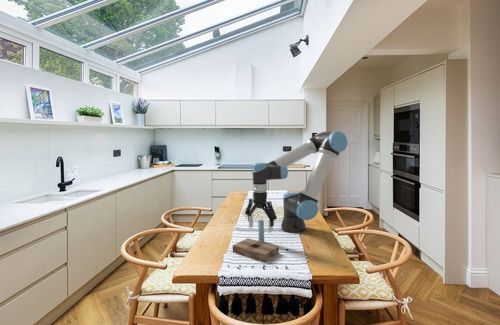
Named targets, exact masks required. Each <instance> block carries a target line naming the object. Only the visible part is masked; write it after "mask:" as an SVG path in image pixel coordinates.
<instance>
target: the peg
mask: <svg viewBox="0 0 500 325" xmlns="http://www.w3.org/2000/svg"><path fill="white" fill-rule="evenodd" d="M257 223H258V225H257V226H258V241H260V242H264V243H265V223H264V219H260V220H258V221H257Z"/></svg>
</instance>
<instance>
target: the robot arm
mask: <svg viewBox="0 0 500 325" xmlns="http://www.w3.org/2000/svg"><path fill="white" fill-rule="evenodd" d="M347 147H348V139H347V136H346V135H345V133H344V132H342V131H338V130H333V131H322V132H319V133H318V134H316V135H313V136H311V138H309V139H307V140H306V141H305V143H303V144H301V145H299V146H297V147H296V148H294V149H292V150H289V151H288V152H286V153H285V154H282V155H281V156H279V157H277V158H274V160H271V161H269V162H267V163H266V162H254V163H253V164H252V172H251V173H252V191H253V192H252V198H249V199H248V204H247V207H246V209H245V212H244V214H245V215H246V216H247V222H248V228H249V229H251V228H253V227H254V215H253V213H255V211H256V209H261V210H263V212H264V213H265V215H266V216H267V218H268V219H269V220H268V233H272V232H274V228H273V227H274V226H275V222H274V221H275V220H277V219H278V217H277V215H276V212H275V209H274V207H273V204H272V201H271V200H270V201H268V200H267V199H268V192H267V191H268V181H271V180H272V181H273V180H286V179H287V178H288V176H289V169H288V167H290V166H291V165H293V164H295V163H297V162H298V161H300V160H302V159H305V158H306V157H308V156H310V155H311V154H316V153H318V152H319V155H318V156H317V158H316V161H315V163H314V166H313V168H312V170H311V173H310V175H309V176H308V178H307V181H306V182H305V183H306V184H305V185H304V188H303V190H301V191H291V192H285V193H284V194H283V196H282V200H283V202H282V203H283V218H282V222H281V224H280V226H281V227H280V228H281V230H282V231H283V232H285V233H292V234H294V233H295V234H296V233H301V232H305V231H306V229H307V228H306V222H305V221H310V220H312V219H314V218H315V217H316V216H317V214H318V213H319V206H318V202H319V197H318V196H319V194H320V192H321V189H322V187H323V184H324V182H325V179H326V178H327V176H328V173H329V171H330V169H331V166H332V164H333V163H334V161H335V160H334V159H337V158H339V155H340V153H342V152H343V151H345V150H346V148H347Z"/></svg>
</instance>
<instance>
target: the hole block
mask: <svg viewBox="0 0 500 325" xmlns="http://www.w3.org/2000/svg"><path fill="white" fill-rule="evenodd" d="M279 248H280V247H279V246H278V245H275V244H271V243H267V242H265V241H264V242H260V241H259V240H256V239H252V238H248V237H247V238H245V239H243V240H241V241H238V242H237V243H235V244H233V245H232V253H234V252H236V253H235V254H237V253H239V254H238V255H240V254H242V255H241V256H243V255H245V257H247V256H248V258H250V257H251V258H250V259H253V258H254V259H253V260H256V259H257V260H256V261H259V260H261V261H260V262H262V261H264V262H263V263H266V262H267V261H269V260H270V258H271V259H272V258H274V257H275V256H277V255H279V254H280V253H279V252H280V251H279V250H280V249H279ZM268 259H269V260H268ZM266 260H267V261H266ZM265 261H266V262H265Z"/></svg>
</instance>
